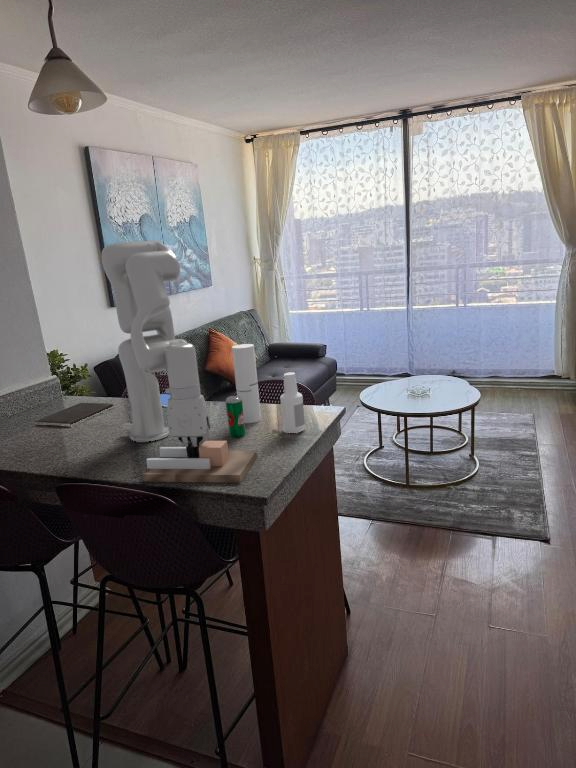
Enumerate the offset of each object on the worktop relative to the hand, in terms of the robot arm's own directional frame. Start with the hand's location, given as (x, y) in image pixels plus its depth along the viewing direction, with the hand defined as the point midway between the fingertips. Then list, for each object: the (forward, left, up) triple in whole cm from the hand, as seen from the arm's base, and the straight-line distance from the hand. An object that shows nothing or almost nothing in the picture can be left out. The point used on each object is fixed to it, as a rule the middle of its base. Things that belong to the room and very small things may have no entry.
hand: (194, 459), depth 145 cm
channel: (-3, 0, -1) cm, 3 cm away
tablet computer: (-37, +66, -4) cm, 76 cm away
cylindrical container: (+4, +41, -3) cm, 41 cm away
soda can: (+4, +26, -3) cm, 27 cm away
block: (+6, 0, -1) cm, 6 cm away
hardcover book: (-65, +48, -4) cm, 81 cm away
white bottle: (+21, +30, -3) cm, 37 cm away
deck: (+2, 0, -3) cm, 3 cm away
